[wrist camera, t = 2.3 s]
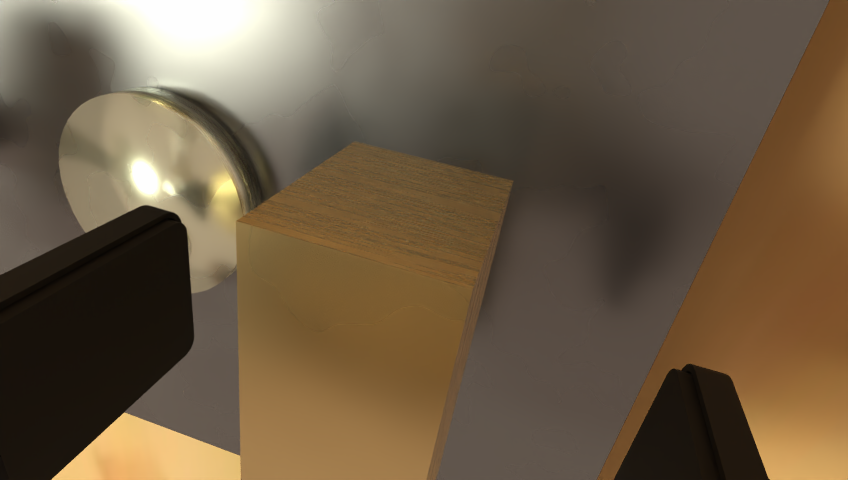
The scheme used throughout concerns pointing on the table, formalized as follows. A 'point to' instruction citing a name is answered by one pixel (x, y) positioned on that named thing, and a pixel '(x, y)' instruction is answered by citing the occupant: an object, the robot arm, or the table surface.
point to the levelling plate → (422, 137)
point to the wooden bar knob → (360, 314)
